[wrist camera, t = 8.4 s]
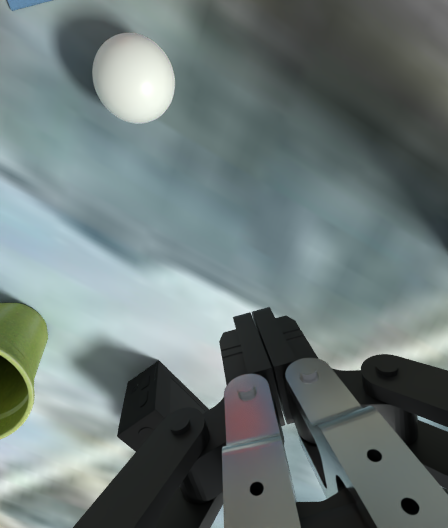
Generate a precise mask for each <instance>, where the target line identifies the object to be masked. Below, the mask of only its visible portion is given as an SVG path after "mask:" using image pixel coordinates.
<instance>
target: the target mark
mask: <svg viewBox="0 0 448 528" xmlns="http://www.w3.org/2000/svg"><path fill="white" fill-rule="evenodd" d="M7 1H8V3H9V6H10V8H11V10H12V11H13V10H17V9H21V8H25V7H29V6H33V5H36V4H40V3H44V2H48V1H52V0H7Z"/></svg>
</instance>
